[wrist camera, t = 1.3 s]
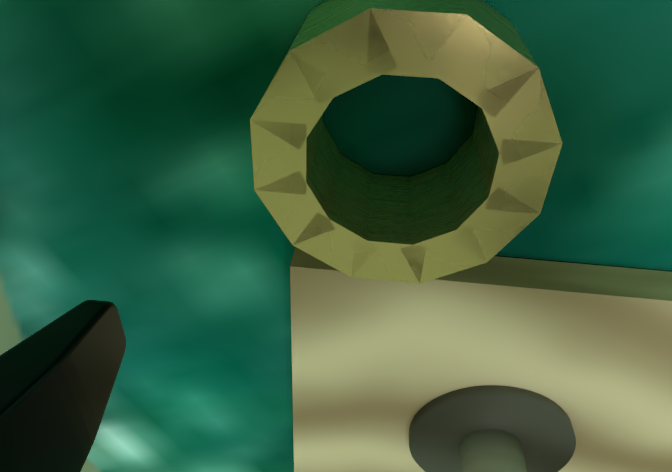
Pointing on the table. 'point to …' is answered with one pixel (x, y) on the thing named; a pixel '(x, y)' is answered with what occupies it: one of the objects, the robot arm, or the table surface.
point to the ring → (399, 191)
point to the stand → (482, 369)
